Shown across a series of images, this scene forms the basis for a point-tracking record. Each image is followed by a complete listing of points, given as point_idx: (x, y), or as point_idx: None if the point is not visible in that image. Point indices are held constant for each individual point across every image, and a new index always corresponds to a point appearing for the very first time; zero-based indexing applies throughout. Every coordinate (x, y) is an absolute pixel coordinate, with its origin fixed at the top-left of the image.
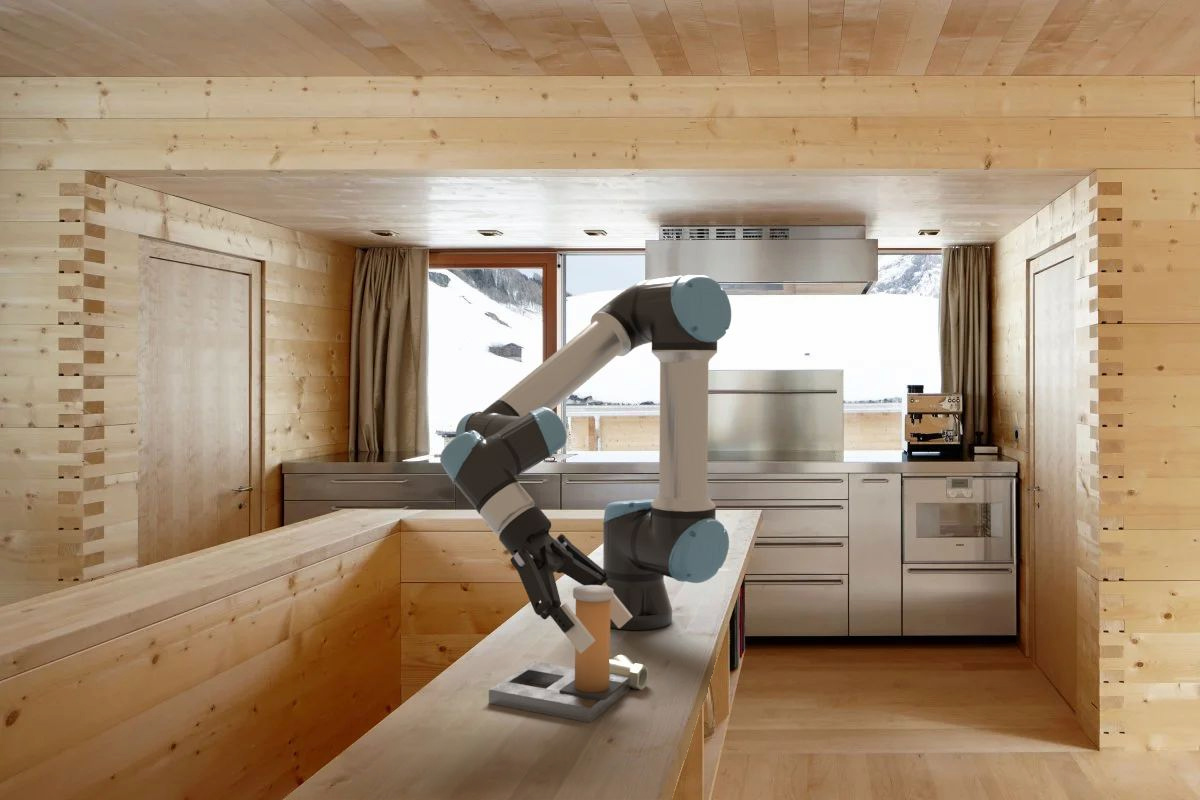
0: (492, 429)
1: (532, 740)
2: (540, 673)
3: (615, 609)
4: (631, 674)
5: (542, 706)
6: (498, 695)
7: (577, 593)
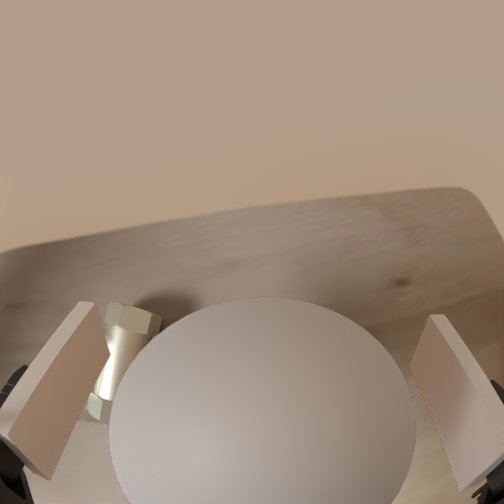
0: None
1: None
2: None
3: (75, 367)
4: (150, 329)
5: None
6: None
7: (393, 496)
